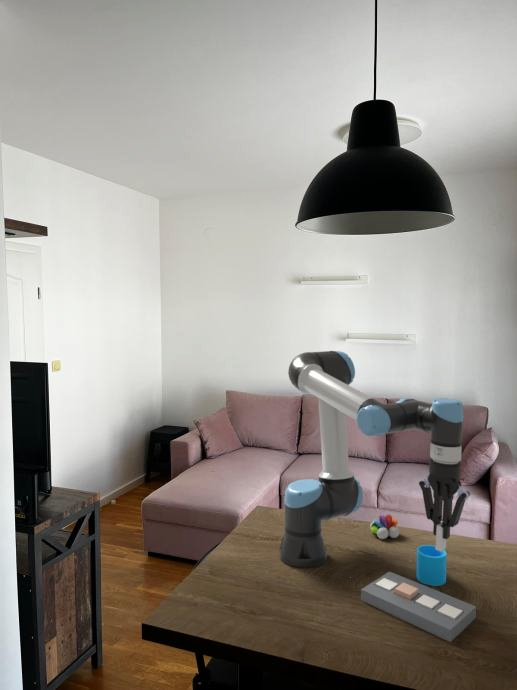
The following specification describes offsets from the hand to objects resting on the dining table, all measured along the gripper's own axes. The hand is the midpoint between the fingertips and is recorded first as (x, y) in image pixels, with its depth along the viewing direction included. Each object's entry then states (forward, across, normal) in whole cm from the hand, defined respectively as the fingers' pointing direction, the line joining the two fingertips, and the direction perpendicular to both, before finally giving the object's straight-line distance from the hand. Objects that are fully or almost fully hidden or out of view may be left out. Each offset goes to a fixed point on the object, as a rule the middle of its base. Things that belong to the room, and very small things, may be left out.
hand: (440, 548), depth 135 cm
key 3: (+16, -1, -4) cm, 16 cm away
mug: (+17, -10, +15) cm, 25 cm away
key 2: (+15, -7, -4) cm, 17 cm away
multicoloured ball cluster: (+18, -35, +29) cm, 49 cm away
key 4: (+16, +5, -4) cm, 17 cm away
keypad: (+16, -4, -4) cm, 17 cm away
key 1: (+16, -13, -4) cm, 21 cm away
